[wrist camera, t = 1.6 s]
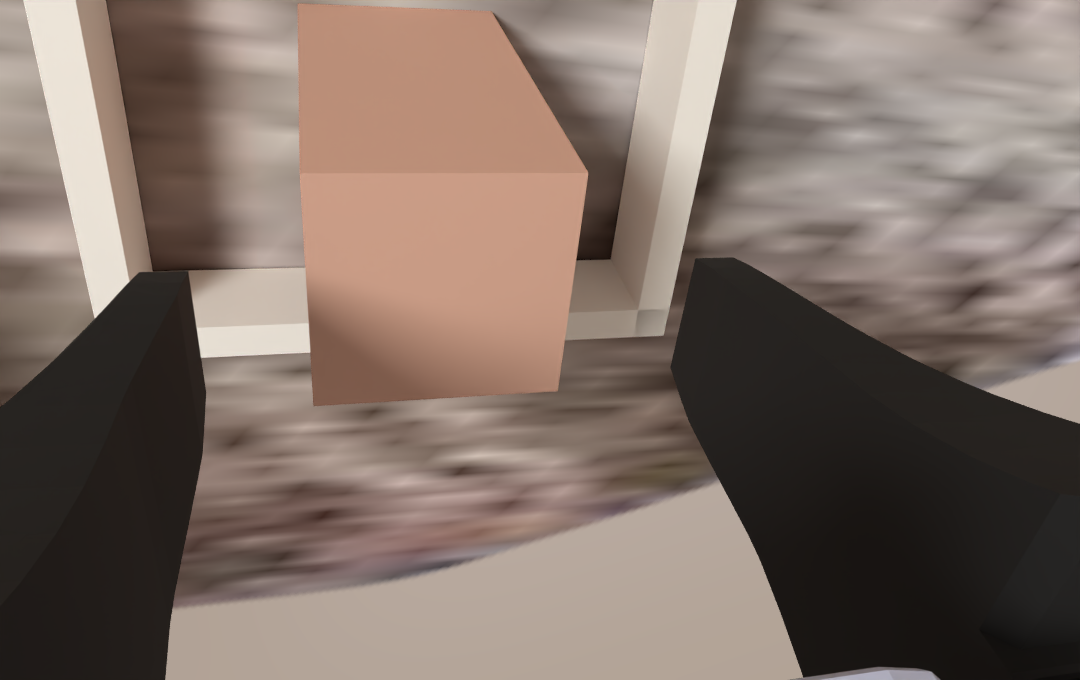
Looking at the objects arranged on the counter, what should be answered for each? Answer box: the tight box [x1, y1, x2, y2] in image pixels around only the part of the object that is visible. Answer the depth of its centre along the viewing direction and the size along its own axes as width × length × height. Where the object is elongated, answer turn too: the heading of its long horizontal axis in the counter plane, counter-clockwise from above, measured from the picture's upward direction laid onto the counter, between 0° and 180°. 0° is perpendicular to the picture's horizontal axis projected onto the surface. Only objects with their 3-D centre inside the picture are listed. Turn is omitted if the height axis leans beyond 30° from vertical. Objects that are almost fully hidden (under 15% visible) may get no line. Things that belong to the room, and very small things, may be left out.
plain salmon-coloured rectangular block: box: [298, 4, 588, 406], centre depth 17 cm, size 4×4×8 cm
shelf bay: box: [23, 0, 737, 358], centre depth 18 cm, size 13×11×2 cm
